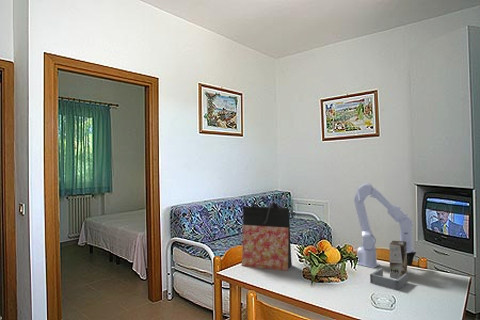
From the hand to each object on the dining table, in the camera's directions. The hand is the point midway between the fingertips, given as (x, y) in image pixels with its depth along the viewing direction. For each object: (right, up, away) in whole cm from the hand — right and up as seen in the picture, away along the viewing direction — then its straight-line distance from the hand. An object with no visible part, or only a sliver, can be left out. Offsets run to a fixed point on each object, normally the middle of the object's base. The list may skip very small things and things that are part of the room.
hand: (406, 267), depth 159 cm
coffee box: (-8, -2, -8) cm, 12 cm away
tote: (-17, -2, -16) cm, 24 cm away
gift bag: (-70, -3, +10) cm, 71 cm away
